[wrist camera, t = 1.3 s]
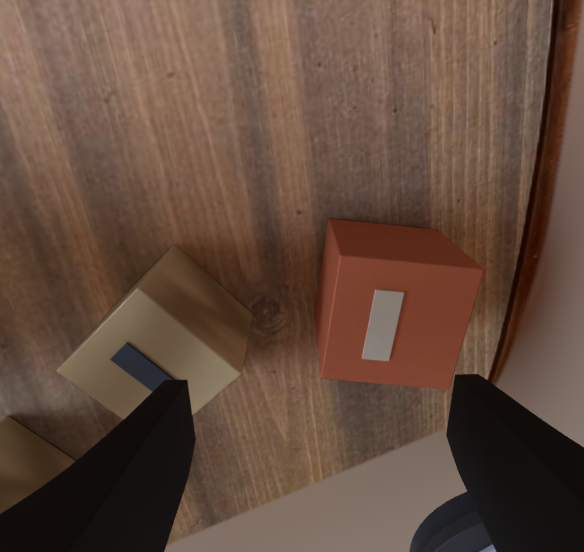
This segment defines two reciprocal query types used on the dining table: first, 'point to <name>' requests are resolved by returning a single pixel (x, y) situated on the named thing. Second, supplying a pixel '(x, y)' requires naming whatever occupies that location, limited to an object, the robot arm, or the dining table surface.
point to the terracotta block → (392, 304)
